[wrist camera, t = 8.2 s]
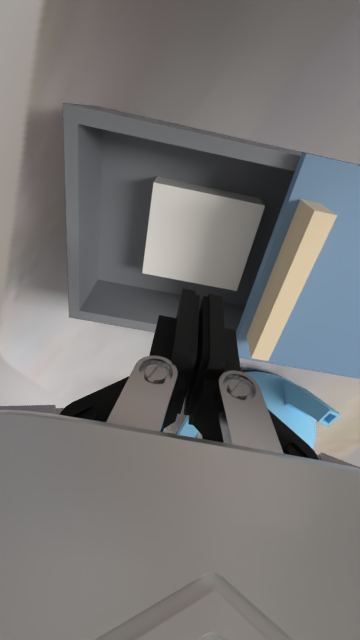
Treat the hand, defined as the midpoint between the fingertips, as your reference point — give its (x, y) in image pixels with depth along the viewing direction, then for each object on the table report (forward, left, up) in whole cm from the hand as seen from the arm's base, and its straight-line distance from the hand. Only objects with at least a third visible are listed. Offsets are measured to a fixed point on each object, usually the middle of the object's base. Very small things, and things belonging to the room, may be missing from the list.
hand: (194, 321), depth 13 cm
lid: (-14, +1, -9) cm, 16 cm away
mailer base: (0, +1, -15) cm, 15 cm away
